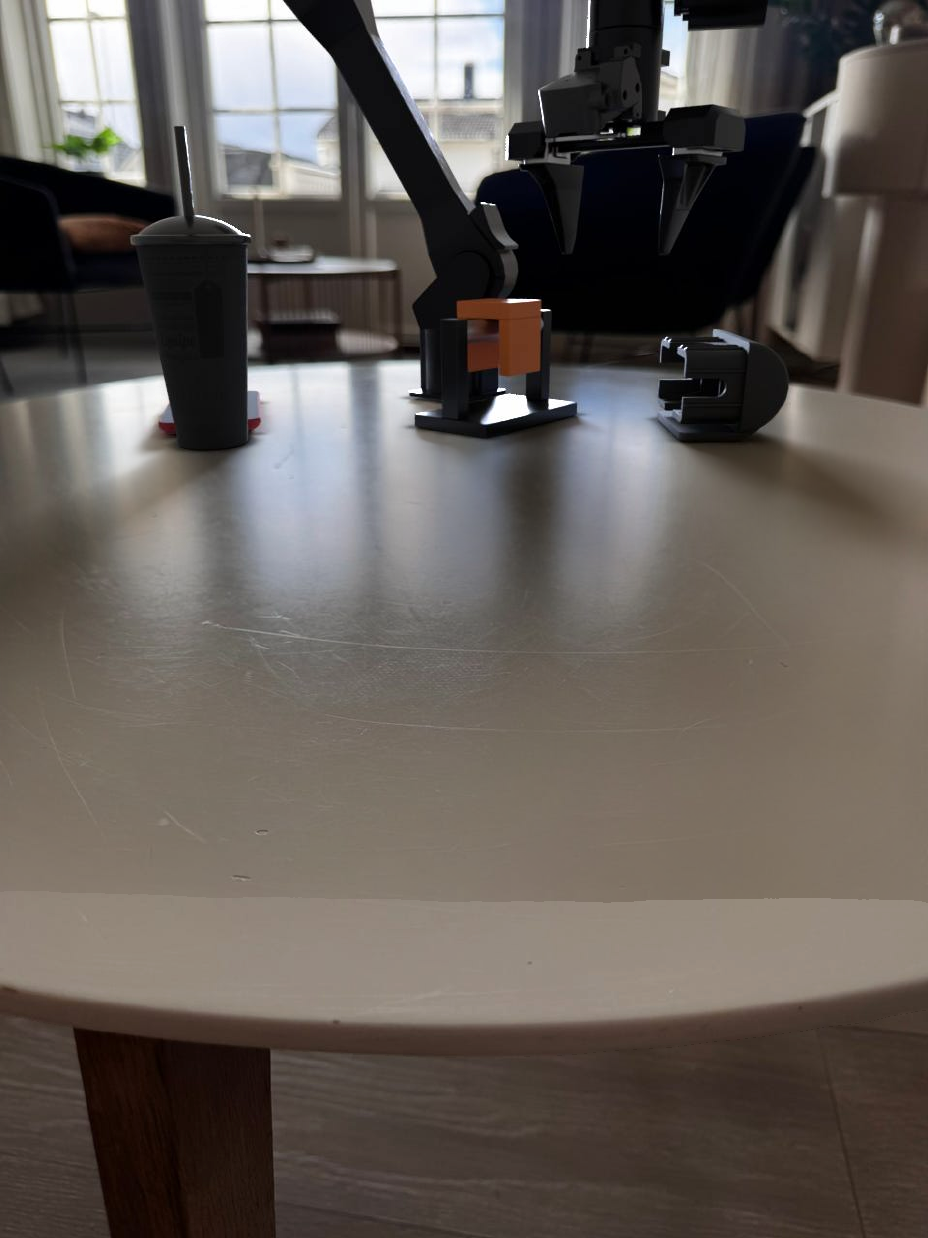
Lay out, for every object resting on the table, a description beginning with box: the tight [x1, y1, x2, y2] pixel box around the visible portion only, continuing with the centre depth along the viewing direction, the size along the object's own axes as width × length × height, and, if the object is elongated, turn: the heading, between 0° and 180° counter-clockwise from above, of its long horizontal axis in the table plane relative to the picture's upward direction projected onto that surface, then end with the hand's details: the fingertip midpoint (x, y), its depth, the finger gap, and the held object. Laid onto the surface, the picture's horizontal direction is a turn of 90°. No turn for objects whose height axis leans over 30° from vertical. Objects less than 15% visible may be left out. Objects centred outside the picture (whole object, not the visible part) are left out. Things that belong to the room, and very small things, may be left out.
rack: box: [414, 309, 578, 439], centre depth 71 cm, size 7×12×8 cm, turn 141°
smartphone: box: [158, 390, 262, 435], centre depth 75 cm, size 7×1×15 cm
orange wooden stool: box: [457, 298, 542, 377], centre depth 70 cm, size 5×4×5 cm
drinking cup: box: [129, 125, 252, 451], centre depth 62 cm, size 8×8×20 cm
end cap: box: [656, 328, 790, 443], centre depth 68 cm, size 10×7×7 cm
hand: (613, 254), depth 76 cm, fingers open, 9 cm apart
